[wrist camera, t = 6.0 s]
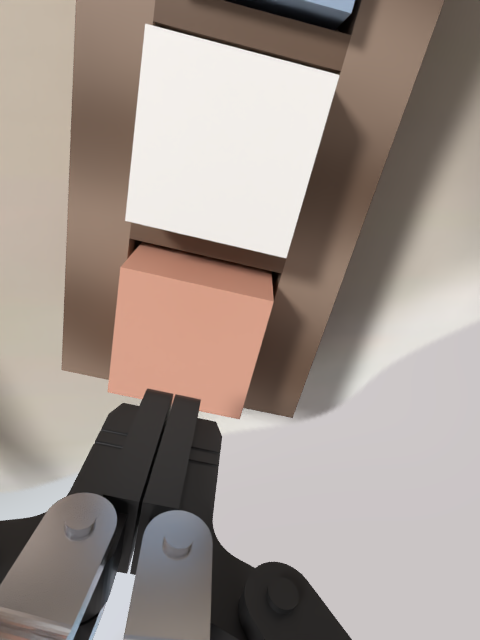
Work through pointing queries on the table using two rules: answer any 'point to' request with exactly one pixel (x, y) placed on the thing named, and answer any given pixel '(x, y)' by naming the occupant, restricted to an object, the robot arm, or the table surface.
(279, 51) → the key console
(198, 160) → the off-white key
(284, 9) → the slate blue key
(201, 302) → the terracotta key
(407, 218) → the table surface
